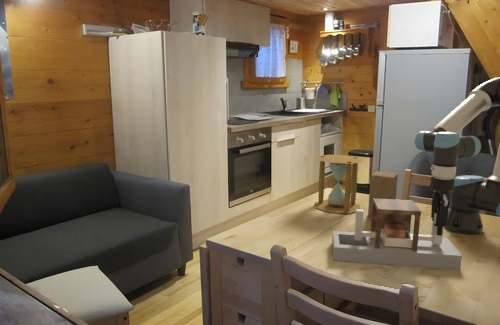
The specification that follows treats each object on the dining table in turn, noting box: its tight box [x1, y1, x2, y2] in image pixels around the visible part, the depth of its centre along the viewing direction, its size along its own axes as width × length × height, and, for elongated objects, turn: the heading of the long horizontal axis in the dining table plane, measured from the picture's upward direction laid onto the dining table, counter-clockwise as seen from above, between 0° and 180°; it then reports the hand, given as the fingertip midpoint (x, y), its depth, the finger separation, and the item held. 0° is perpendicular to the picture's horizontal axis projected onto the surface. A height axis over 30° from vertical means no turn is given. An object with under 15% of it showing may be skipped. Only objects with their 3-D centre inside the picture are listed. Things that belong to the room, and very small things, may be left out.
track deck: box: [331, 230, 463, 271], centre depth 151 cm, size 42×16×5 cm, turn 81°
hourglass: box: [314, 154, 364, 215], centre depth 206 cm, size 24×22×25 cm
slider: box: [354, 208, 441, 248], centre depth 149 cm, size 29×10×11 cm, turn 81°
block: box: [384, 224, 405, 238], centre depth 150 cm, size 6×6×6 cm
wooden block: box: [367, 170, 399, 218], centre depth 193 cm, size 10×10×20 cm
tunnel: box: [370, 198, 422, 251], centre depth 149 cm, size 14×14×14 cm
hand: (436, 241), depth 148 cm, fingers closed on slider, 2 cm apart
